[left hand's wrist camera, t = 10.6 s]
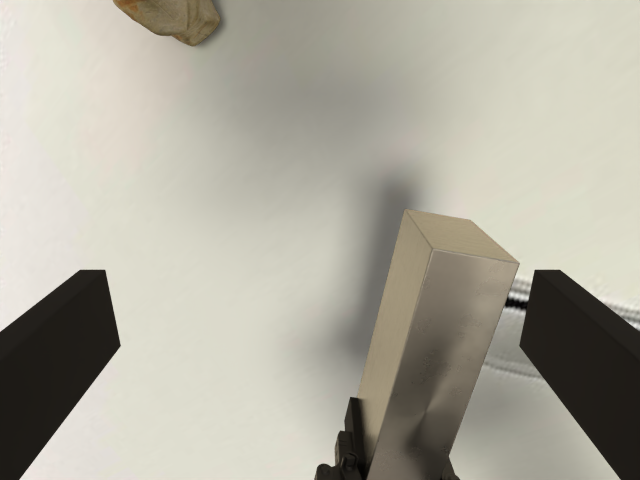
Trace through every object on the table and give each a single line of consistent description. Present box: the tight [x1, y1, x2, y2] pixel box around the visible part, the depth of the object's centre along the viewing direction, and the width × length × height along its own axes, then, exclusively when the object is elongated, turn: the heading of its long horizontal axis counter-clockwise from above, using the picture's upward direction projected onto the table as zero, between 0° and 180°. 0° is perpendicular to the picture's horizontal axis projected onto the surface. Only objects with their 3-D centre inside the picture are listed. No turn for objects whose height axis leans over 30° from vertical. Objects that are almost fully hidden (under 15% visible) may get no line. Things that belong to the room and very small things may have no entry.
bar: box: [357, 209, 520, 480], centre depth 31 cm, size 23×5×8 cm, turn 170°
